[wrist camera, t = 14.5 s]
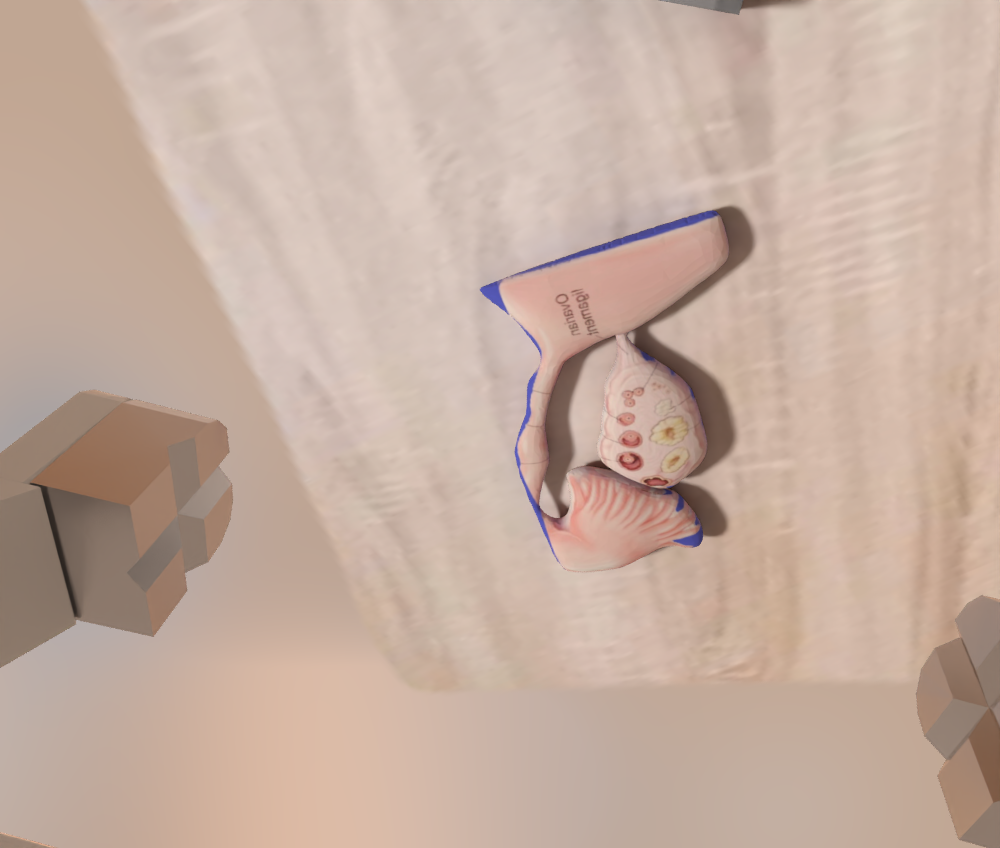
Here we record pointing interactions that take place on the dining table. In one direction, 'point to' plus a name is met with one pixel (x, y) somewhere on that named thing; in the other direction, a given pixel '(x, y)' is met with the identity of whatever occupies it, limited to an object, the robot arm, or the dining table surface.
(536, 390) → the anatomical model
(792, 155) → the dining table surface
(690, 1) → the pin tray
